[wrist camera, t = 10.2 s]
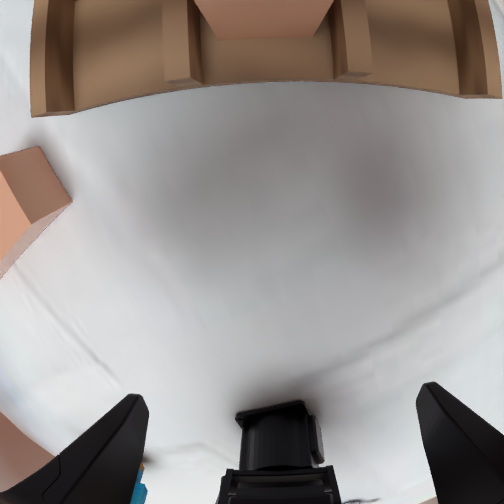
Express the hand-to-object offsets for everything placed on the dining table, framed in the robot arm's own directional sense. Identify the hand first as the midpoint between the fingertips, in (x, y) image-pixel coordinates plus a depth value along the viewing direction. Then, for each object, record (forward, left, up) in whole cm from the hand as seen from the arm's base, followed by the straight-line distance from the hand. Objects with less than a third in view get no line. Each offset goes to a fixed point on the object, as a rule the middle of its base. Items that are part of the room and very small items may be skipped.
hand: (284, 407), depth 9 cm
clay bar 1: (-18, +10, -12) cm, 24 cm away
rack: (+5, +14, -12) cm, 19 cm away
